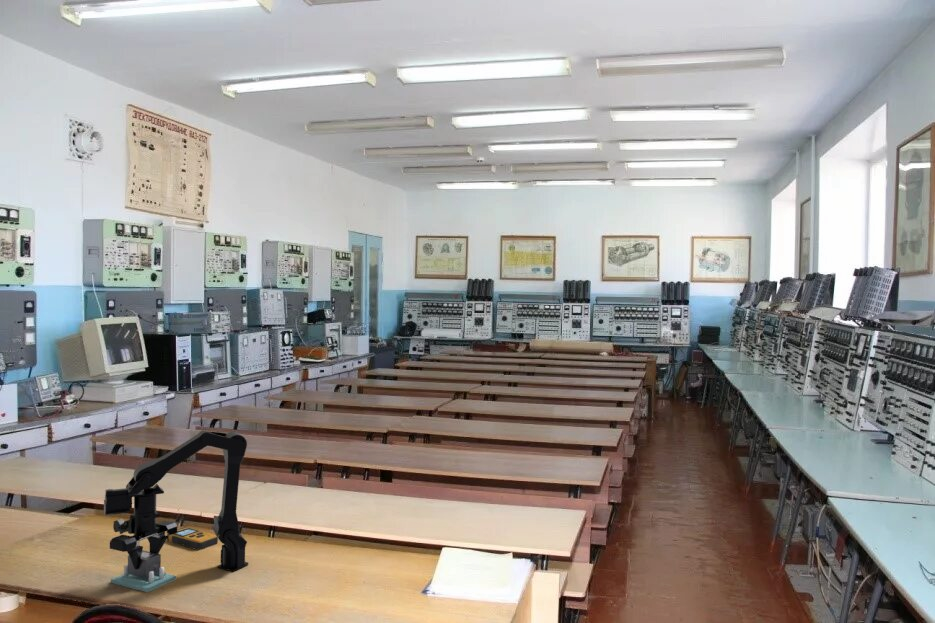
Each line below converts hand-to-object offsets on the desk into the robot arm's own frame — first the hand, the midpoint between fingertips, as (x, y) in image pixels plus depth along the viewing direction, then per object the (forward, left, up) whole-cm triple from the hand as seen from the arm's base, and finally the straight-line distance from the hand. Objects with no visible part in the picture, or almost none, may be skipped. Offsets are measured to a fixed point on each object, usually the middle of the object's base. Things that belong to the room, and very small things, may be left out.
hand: (144, 565), depth 203 cm
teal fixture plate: (0, 0, -4) cm, 4 cm away
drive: (0, 0, -2) cm, 2 cm away
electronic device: (+12, -30, -5) cm, 33 cm away
